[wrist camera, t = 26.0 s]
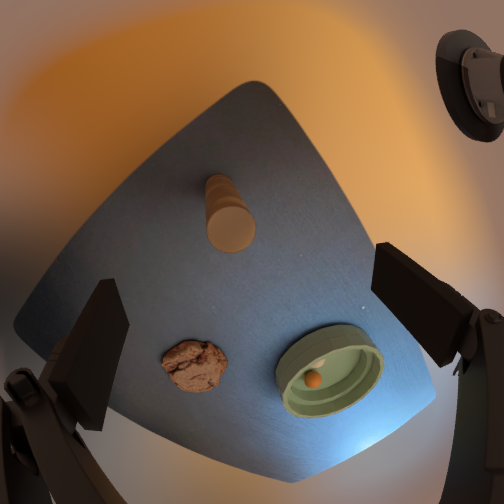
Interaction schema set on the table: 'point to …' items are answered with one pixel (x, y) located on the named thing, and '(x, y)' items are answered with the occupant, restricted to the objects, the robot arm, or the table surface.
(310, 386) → the orange ball
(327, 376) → the bowl
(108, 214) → the table surface
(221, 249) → the stick
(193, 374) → the cookie
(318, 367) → the cream ball
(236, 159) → the table surface
